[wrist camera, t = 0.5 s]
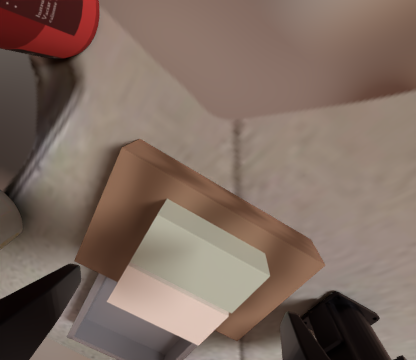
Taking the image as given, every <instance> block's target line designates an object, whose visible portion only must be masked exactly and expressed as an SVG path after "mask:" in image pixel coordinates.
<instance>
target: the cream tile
mask: <svg viewBox="0 0 416 360" xmlns="http://www.w3.org/2000/svg"><path fill="white" fill-rule="evenodd" d="M107 302H108V303H110V304H112V305H114V306H116V307H119V308H121V309H123V310H125V311H127V312H129V313H131V314H133V315H135V316H137V317H139V318H142V319H144V320H146V321H148V322H150V323H152V324H154V325H156V326H158V327H160V328H162V329H165V330H167V331H169V332H171V333H173V334H175V335H177V336H179V337H181V338H183V339H185V340H188V341H190V342H192V343H194V344H196V345H198V346H199V345H200V344H201V343H202V342H203V341H204V340H205V339H206V338H207V337H208V336H209V335H210V334H211V333H212V332H213V331H214V330H215V329H216V328H217V327H218V326H219V325H220V324H221V323H222V322H223V321H224V320H225V319H227V318H228V317H229V312H228V311H226V310H224V309H222V308H220V307H218V306H216V305H214V304H212V303H210V302H208V301H206V300H204V299H202V298H200V297H198V296H196V295H194V294H192V293H190V292H188V291H186V290H184V289H182V288H181V287H179V286H177V285H175V284H173V283H171V282H169V281H167V280H165V279H163V278H161V277H159V276H157V275H155V274H153V273H151V272H149V271H147V270H145V269H143V268H141V267H139V266H137V265H135V264H133V263H131V262H130V263H129V264H128V266H127V268H126V269H125V271H124V273H123V275H122V276H121V278H120V280H119V281H118V283H117V285H116V287H115V288H114V290H113V292H112V293H111V295H110V297H109V299H108V300H107Z"/></svg>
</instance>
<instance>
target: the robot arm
mask: <svg viewBox="0 0 416 360" xmlns="http://www.w3.org/2000/svg"><path fill="white" fill-rule="evenodd" d="M80 282H81V271H80V266H79V265H76V264H68V265H66V266H64V267H62V268H60V269H58V270H56V271H54V272H52V273H50V274H48V275H46V276H44V277H42V278H41V279H39V280H37V281H35V282H33V283H31V284H29V285H27V286H25V287H23V288H21V289H19V290H17V291H16V292H14V293H12V294H10V295H8V296H6V297H4V298H2V299H0V360H29V359H30V358H31V357H32V355H33V354H34V352H35V351H36V350H37V348H38V347H39V345H40V344H41V343H42V341H43V340H44V339H45V337H46V336H47V335H48V333H49V332H50V330H51V329H52V328H53V326H54V325H55V323H56V322H57V320H58V319H59V317H60V316H61V314H62V312H63V311H64V309H65V308H66V306H67V304H68V303H69V301H70V299H71V298H72V296H73V294H74V293H75V291H76V289H77V288H78V286H79V284H80ZM379 319H380V318H379V316H378V315H377V314H376V313H375V312H373V311H371V310H370V309H368V308H366V307H364V306H363V305H361V304H359V303H357V302H355V301H354V300H352V299H350V298H348V297H347V296H345V295H343V294H341V293H339V292H334V293H332V294H331V295H330V296H328V297H327V298H326V299H325V300H323V301H322V302H321V303H319V304H318V305H317V306H316V307H314V308H313V309H312V310H310V311H309V312H308V313H306V314H305V315H304V316H303V317H301V318H300V317H299V315H298V314H296V313H293V312H286V313H285V315H284V318H283V320H282V322H281V325H280V334H281V346H282V358H283V360H391V358H390V356H389V355H388V353H387V352H386V350H385V348H384V347H383V345H382V343H381V342H380V340H379V338H378V337H377V335H376V334H375V332H374V330H373V329H372V327H371V325H372V324H374V323H375V322H377V321H378V320H379ZM309 329H310V330H312V331H313V332H314V335H315V338H316V339H315V338H314V336H313V335H312V334H311V332H310V331H309ZM394 360H406V359H405V357H404V356H403V355H402V356H399V357H397V359H394Z"/></svg>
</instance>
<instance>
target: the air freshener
mask: <svg viewBox="0 0 416 360" xmlns="http://www.w3.org/2000/svg"><path fill="white" fill-rule="evenodd" d="M22 231H23V224H22V219H21V216H20V213H19V211H18V209H17V207H16V206H15V204H14V203H13V201H12V200H11V199H10V198H9V197H8V196H7V195H6V194H5V193H4V192H3V191H1V190H0V249H2V248H3V247H4V246H5V245H7V244H8V243H9V242H11V241H12V240H13V239H14V238H15V237H17V236H18V235H19V234H20V233H21V232H22Z"/></svg>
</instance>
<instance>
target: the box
mask: <svg viewBox="0 0 416 360" xmlns="http://www.w3.org/2000/svg"><path fill="white" fill-rule="evenodd" d="M117 283H118V282H116V281H114V280H112V279H110V278H108V277H106V276H104V275H102V274H100V273H99V274H98V276H97V278H96V280H95V282H94V284H93V286H92V288H91V290H90V292H89V294H88V296H87V298H86V300H85V302H84V304H83V306H82V308H81V310H80V312H79V314H78V316H77V318H76V319H75V321H74V323H73V325H72V327H71V329H70V331H69V333H68V335H67V337H68V338H70V339H73V340H75V341H77V342H79V343H82V344H84V345H86V346H88V347H90V348H93V349H95V350H97V351H99V352H102V353H104V354H106V355H108V356H111V357H113V358H115V359H117V360H183V359H184V358H186V357H187V356H188V355H189V354H190V353H191V352H192V351H193V350H194V349H195V348H196V347H197V346H198V345H196V344H194V343H192V342H190V341H188V340H185V339H183V338H181V337H179V336H177V335H175V334H173V333H171V332H169V331H167V330H165V329H162V328H160V327H158V326H156V325H154V324H152V323H150V322H148V321H146V320H144V319H142V318H139V317H137V316H135V315H133V314H131V313H129V312H127V311H125V310H123V309H121V308H119V307H116V306H114V305H112V304H110V303H108V302H107V300H108V299H109V297H110V295H111V293H112V292H113V290H114V288H115V287H116V285H117Z"/></svg>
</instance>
